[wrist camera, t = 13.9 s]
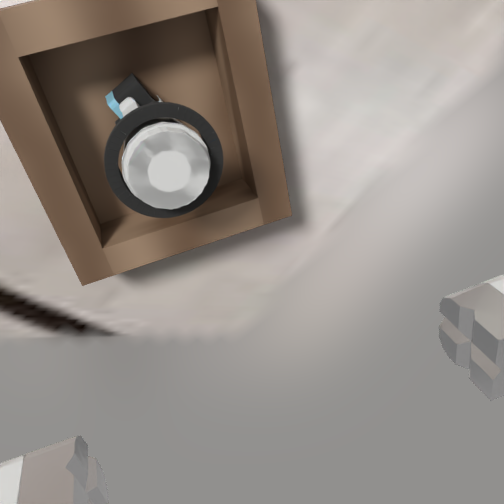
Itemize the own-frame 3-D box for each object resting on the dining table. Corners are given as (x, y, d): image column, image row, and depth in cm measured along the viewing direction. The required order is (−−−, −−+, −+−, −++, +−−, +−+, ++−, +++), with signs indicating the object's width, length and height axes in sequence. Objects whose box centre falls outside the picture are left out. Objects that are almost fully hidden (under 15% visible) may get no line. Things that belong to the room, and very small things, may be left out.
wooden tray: (224, -45, 27) (247, -49, 23) (269, 190, 35) (291, 215, 31) (-29, 15, 25) (-49, 21, 21) (82, 251, 33) (82, 285, 29)
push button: (216, 136, 31) (267, 194, 22) (155, 189, 31) (182, 265, 23) (146, 50, 27) (175, 81, 19) (77, 111, 27) (76, 168, 19)
